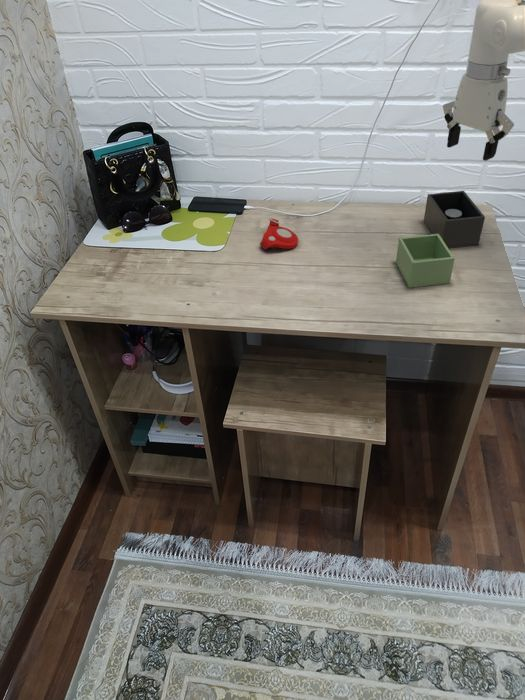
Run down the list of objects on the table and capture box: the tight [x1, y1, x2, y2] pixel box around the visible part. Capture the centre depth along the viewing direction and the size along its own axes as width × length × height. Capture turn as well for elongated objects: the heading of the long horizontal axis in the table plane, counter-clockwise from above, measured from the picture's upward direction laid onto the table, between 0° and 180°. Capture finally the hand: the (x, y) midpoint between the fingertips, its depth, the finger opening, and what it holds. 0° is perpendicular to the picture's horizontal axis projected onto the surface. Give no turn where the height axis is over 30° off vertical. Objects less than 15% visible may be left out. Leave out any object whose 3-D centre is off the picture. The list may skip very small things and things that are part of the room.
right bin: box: [423, 190, 486, 249], centre depth 139 cm, size 13×9×8 cm
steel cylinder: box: [445, 209, 462, 220], centre depth 139 cm, size 4×4×5 cm
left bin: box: [395, 233, 456, 289], centre depth 128 cm, size 10×9×7 cm
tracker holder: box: [259, 218, 299, 250], centre depth 142 cm, size 12×4×10 cm
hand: (469, 152), depth 127 cm, fingers open, 9 cm apart
